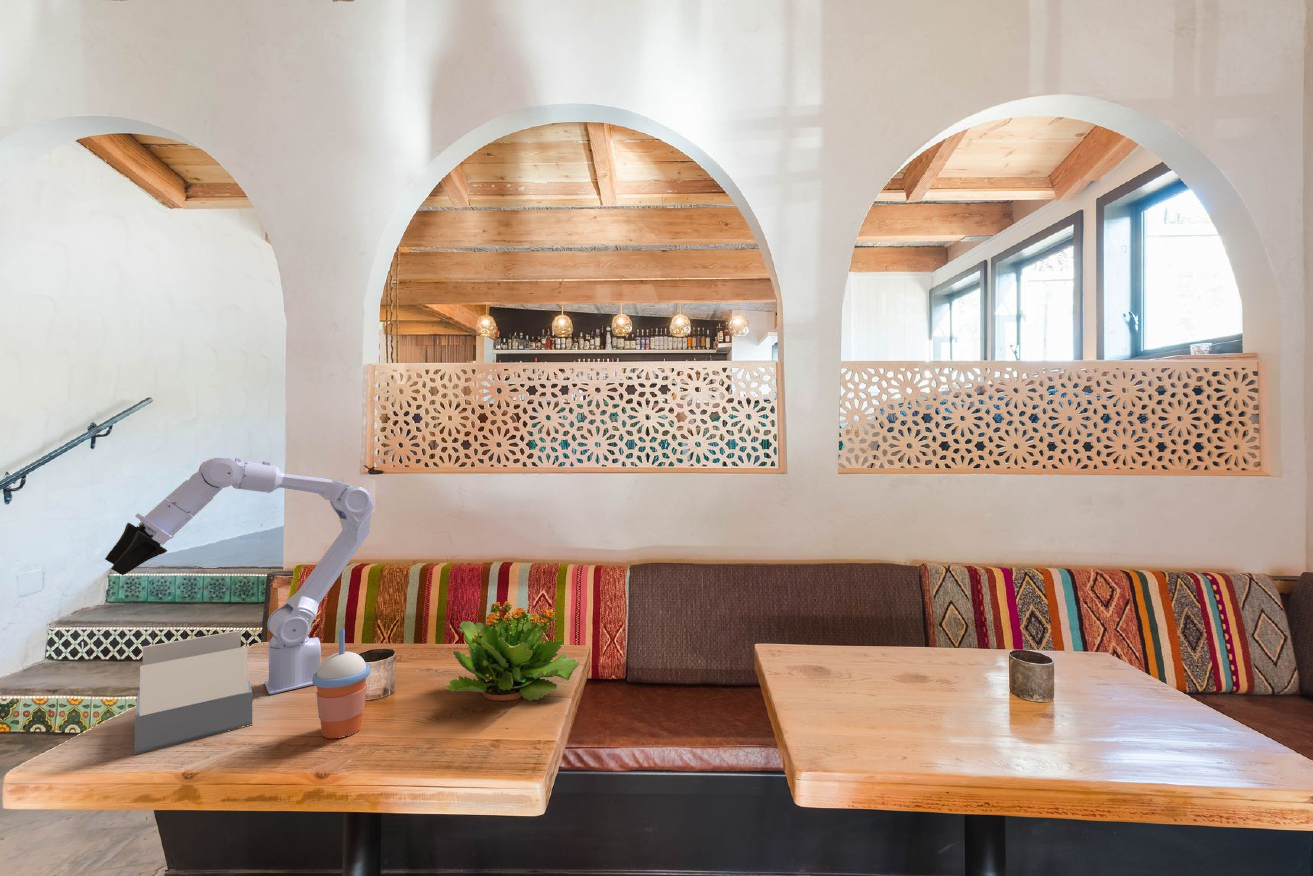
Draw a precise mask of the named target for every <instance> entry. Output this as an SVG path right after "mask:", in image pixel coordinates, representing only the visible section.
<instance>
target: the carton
mask: <svg viewBox="0 0 1313 876" xmlns="http://www.w3.org/2000/svg"><path fill="white" fill-rule="evenodd" d="M137 689H138V691H137V698H136V706H135V707H136V708H135V713H134V756H136V755H140V754H144V753H148V752H153V751H157V750H160V749H164V748H168V747H172V746H176V745H180V744H183V743H187V742H191V741H195V740H194V739H196V740H199V739H204V738H207V737H206V736H208V737H211V736H210V735H212V736H215V735H214V734H216V735H219V734H223V733H227V732H229V731H228V730H231V731H234V729H235V730H238V729H237V728H239V727H242V726H247V725H250V724H252V725H253V689H252V687H251V684H250V682H249V680H248V692H245V693H241V694H236V695H232V696H227V697H223V698H219V699H214V700H210V701H205V702H201V703H196V704H192V705H187V706H183V707H178V708H174V709H169V710H165V711H160V712H156V713H152V714H147V715H143V716H140V687H138V688H137ZM247 727H248V726H247ZM239 729H240V728H239ZM226 731H227V732H226ZM218 733H219V734H218Z"/></svg>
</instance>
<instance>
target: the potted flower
mask: <svg viewBox="0 0 1313 876" xmlns="http://www.w3.org/2000/svg"><path fill="white" fill-rule="evenodd" d="M512 607H513V605H512V604H511V601H510V600H509V601H505V602H504V603H503V605H502V606H501V605H500V602H499V601H498V602H497V601H496V602H492V604H491V606H490V609H489V610H490V613H488V615H486V617H485V622H486V623H481V622H476V623H475V624H474V622H473V621H470V620H468V621H461V623H459V628H457V630H458V631H459V632H460V633H462V634H463V636H464V641H465V643H466V644H467V645H468V652H469V656H468V655H466V654H465V653H461V651H458V650H457V651H456V650H453V652H452V653H453V655H454V657H455V659H457V661H458V663H459V664H460V665H461V666H462V668H464V669H465V670H466V671H468V672H469V673H471V674H473V675H475V677H473V678H472V679H471V678H470V677H467V676H461V675H459V676H458V679H455V678H454V679H451V680H449V684H448V685H447V686H446V690H447V691H449V692H473V693H481V694H482V696H483V697H484V698H485V699H487V700H489V701H493V702H505V701H508V702H509V701H515V700H518V699H519V700H520V699H521V698H523V699H524V700H526V701H527V700H528V701H530V702H532V701H533V700H534V701H539V700H540V699H542V698H544V696H546V695H548V694H549V693H552V692H554V691H555V690H556V689H557V688H558V685H557V683H554V682H553V681H550V680H549V679H545V678H554V677H558V678H561V679H564V680H566V681H569V680H570V679H571V677H572V675H573V672H574V671H575V670H576V669H577V667H578V666H579V665H580V662H579V661H578V662H577V659H576V658H568V654H567V653H566V652H564V653H562V654H561V655H560V656H559V657H557V656H558V655H559V654H558V652H559V651H560V649H561V648H562V645H563V643H564V642H563V640H557V639H556V640H555V641H552V640H551V639H550V637H549V638H548V639H547V640H546V636H547V632H548V630H549V628H550V624H551V622H552V621H556V617H555V612H553V611H554V609H549V608H544V609H541V610H540V611H539V612H540V613H541V614H540V616H539V614H537V613H536V612H533V613H527V612H526V610H525V608H524V607H517V608H514V610H513V611H512V613H511V614H512V615H511V614H510V611H511V609H512ZM501 611H503V612H506V613H507V614H505V615H503V612H501ZM540 617H542V618H543V619H540ZM543 634H544V635H543ZM545 640H546V641H545ZM556 657H557V658H556ZM554 658H556V659H554Z"/></svg>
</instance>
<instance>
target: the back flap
mask: <svg viewBox="0 0 1313 876" xmlns="http://www.w3.org/2000/svg"><path fill="white" fill-rule="evenodd" d="M241 638H242V630H241V629H240V630H234V631H229V632H228V631H227V632H221V633H216V634H215V633H214V634H210V635H204V636H198V637H193V638H187V639H180V640H175V641H169V642H164V643H163V642H162V643H157V644H150V645H144V646H142V666H143V665H149V664H154V663H160V662H165V661H170V660H176V659H181V658H187V657H192V656H198V655H203V654H209V653H214V652H220V651H225V650H230V649H236V648H241V647H242V646H241V645H242V641H241Z"/></svg>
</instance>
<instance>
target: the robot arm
mask: <svg viewBox="0 0 1313 876" xmlns="http://www.w3.org/2000/svg"><path fill="white" fill-rule="evenodd" d="M189 477H190V478H189V479H185V481H183V482H182V483H181V484H180V485H179V486H177V488H175V489H174V490H173V491H172V492H171V493H169V494H168V496H166V497H165V498H164V499H163V500H161V502H160V503H158V504H157V505H156V506H154V508H152V510H150V511H149V512H148V513H147V514H145V516H143V515H142V514H140V513H136V514H135V518H136V519H139V521H140V522H139V523H138V524H137V526H135V525H134V524H132V523H130V522H127V523H126V525H125V528H124V530H123V532H122V534H121V536H120V538H119V539H118V541H117V542H116V543H115V545H114V546H113V547H112V548H111V550H110V551H109V552H108V553H107V555H106V556H105V558H104V559H105V561H107V562H108V563H111V564H112V566H111V568H110V569H111V570H112V571H115V572H116V573H118V574H119V575H121V576H124V575H126V574H128V573H129V572H131V571H133V570H134V569H136V568H138V567H139V566H141V565H143V564H144V563H146V562H147V561H150V560H151V559H153V558H156V557H158V556H160V555H163V554H165V553H167V552H168V549H167V548H165V547H163V546H164V545H165V544H166V543H167V542H168V541H169V540H171V539H173V538H174V537H175V535H176V534H177V533H178V532H179V531H180V530H181V529H182V528H183V527H184V526H186V524H188V523H189V522H190V521H191V520H192V519H193V518H194V517H195V516H196V515H198V513H199V512H201V511H202V510H203V509H204V508H205V507H206V506H207V505H208V504H209V503H210V502H211V501H212V500H213V499H214V497H215V496H217V494H219V492H221V491H222V490H223V489H224V488H228V487H230V486H232V488H234V489H235V490H237V489H238V490H243V491H253V492H261V493H269V494H270V493H272V492H274V491H275V490H277V489H280V488H281V489H288V490H294V491H301V492H306V493H314V494H318V495H319V496H321V497H322V498H323V499H324V500H326V501H329V503H330V506H331V507H332V509H333V511H334V512H335V513H336V515H338V518H339V521H340V522H339V523H340V525H341V529H342V530H341V532H340V533H339V534H338V536H337V537H336V539H334V541H333V542H332V544H331V545H330V546H329V548H328V549H327V551H326V552H325V553H324V555H323V556H322V557H321V559H320V561H319V562H318V563H317V564H316V565H315V567H314V568H313V570H312V571H311V573H310V574H309V575H308V577H307V578H306V579H305V580H304V582H303V583H302V584H301V586H300V587H299V588H298V590H297V592H296V593H295V594H293V595H292V596H290V597H289V598H288V599H287V600H286V601H285V602H284V604H283V605H281V607H278V608H277V609H275V610H273V612H272V613H270V615H269V617H268V620H267V623H266V625H267V629H268V631H269V632H270V633H271V634H272V637H271V639H270V640H269V642H268V680H267V679H266V680H265V681H264V685H265V688H266V691H267V693H268V695H274V694H279V693H282V692H283V693H284V692H286V691H291V690H292V691H293V690H296V689H300V688H304V687H308V686H309V687H310V686H312V685H313V686H315V685H314V684H313V682H312V678H313V675H314V673H315V672H317V671H318V669H319V667H320V665H321V664H322V648H321V641H320V638H319V636H318V637H310V636H309V634H310V632H311V629H312V623H313V622H314V620H315V618H316V617H317V615H318V610H319V606H320V604H321V602H322V601H323V599H324V598H325V597H326V595H327V594H328V593H329V591H330V589H331V588H332V587H333V586H334V584H335V582H336V581H337V580H338V578H339V577H340V575H341V574H342V573H343V572H344V570H345V568H346V566H348V565H349V563H350V561H351V560H352V559H353V557H354V555H355V554H356V553H357V551H358V550H359V549H360V547H361V545H362V544H363V543H364V542H365V540H366V539H367V538H368V536H369V534H370V531H371V520H372V512H373V509H374V508H375V504H374V502H373V498H372V495H371V493H370V492H369V490H367V489H366V488H364V487H361V486H353V485H352V484H349V483H346V482H341V481H338V480H335V479H332V478H331V479H330V478H323V477H322V478H321V477H315V476H305V475H297V474H290V473H283V472H282V471H281V469H279V467H278V466H277V465H273V464H272V462H271V461H266V460H265V461H264V460H263V461H262V463H259V462H252V461H246V460H243V458H240V457H235V458H234V459H233V458H230V457H213V458H209V459H207V460H206V461H203V462H201V464H200V465H199V468H198V471H196V472H195V473H193V474H192V475H191V476H189Z"/></svg>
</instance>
